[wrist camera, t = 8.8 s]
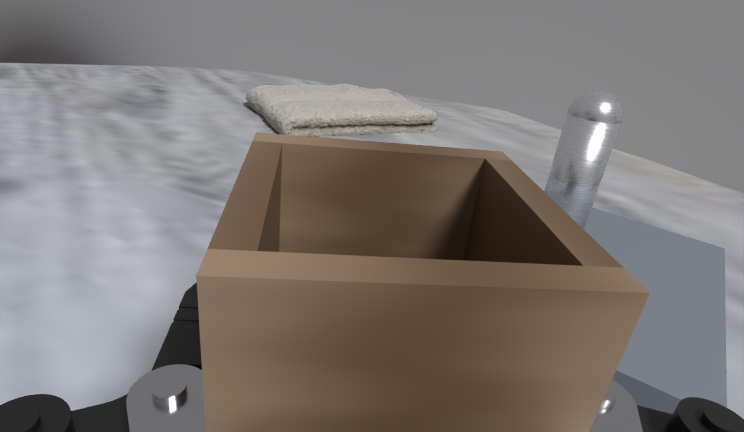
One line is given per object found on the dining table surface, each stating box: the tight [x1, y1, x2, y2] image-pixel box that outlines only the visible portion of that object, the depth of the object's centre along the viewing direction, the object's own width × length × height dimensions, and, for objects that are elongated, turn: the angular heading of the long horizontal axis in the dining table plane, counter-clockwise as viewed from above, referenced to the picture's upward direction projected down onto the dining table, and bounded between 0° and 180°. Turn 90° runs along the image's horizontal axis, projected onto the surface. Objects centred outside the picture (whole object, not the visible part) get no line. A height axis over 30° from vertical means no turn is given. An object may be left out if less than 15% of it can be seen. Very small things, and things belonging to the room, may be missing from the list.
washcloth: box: [246, 84, 438, 137], centre depth 51 cm, size 12×18×3 cm, turn 119°
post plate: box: [544, 90, 727, 414], centre depth 24 cm, size 16×16×10 cm
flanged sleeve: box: [196, 132, 650, 432], centre depth 10 cm, size 8×8×10 cm
